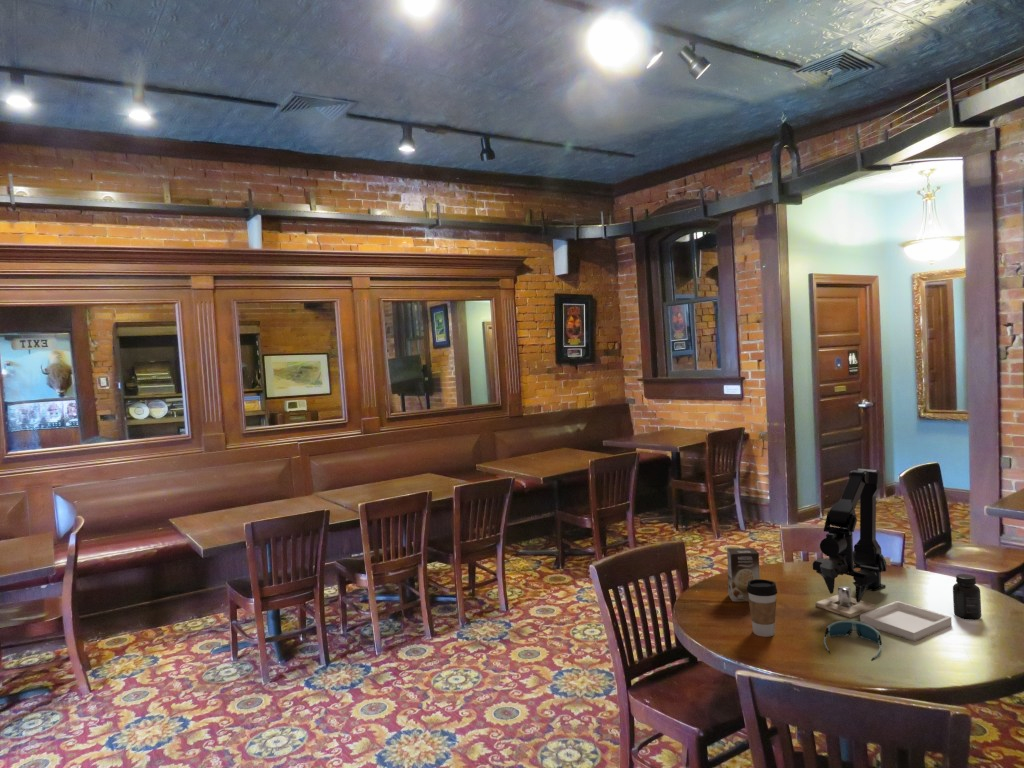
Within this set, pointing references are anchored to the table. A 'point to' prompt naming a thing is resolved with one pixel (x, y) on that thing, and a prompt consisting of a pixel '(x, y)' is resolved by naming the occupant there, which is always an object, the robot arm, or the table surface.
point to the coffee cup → (762, 606)
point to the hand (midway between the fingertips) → (844, 597)
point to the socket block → (849, 612)
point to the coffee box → (741, 571)
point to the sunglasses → (860, 628)
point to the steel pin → (844, 596)
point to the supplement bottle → (966, 598)
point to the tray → (906, 620)
